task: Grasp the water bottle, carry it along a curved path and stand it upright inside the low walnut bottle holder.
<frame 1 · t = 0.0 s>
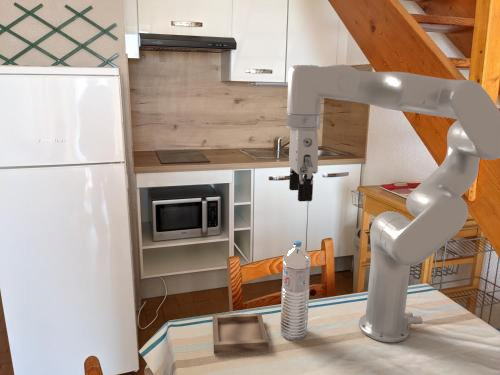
hand: (300, 195, 101), 37 cm above the table, tool pointing down, fingers open, 9 cm apart
bottle holder: (239, 336, 109), on the table
water bottle: (293, 334, 110), on the table
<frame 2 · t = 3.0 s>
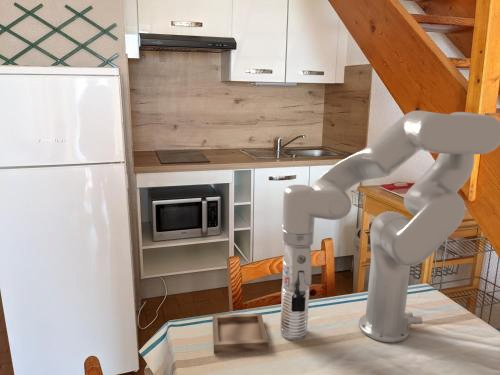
hand: (294, 302, 108), 9 cm above the table, tool pointing down, fingers closed on water bottle, 6 cm apart
water bottle: (293, 334, 110), on the table, touching gripper
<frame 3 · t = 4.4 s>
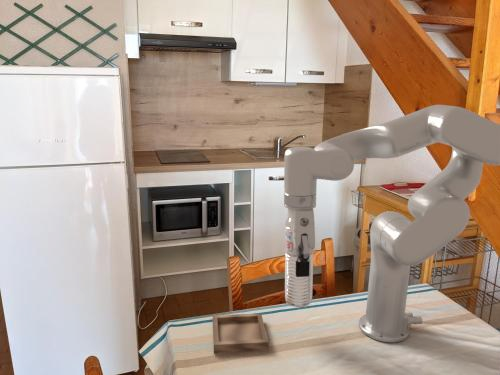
hand: (298, 268, 106), 18 cm above the table, tool pointing down, fingers closed on water bottle, 6 cm apart
water bottle: (298, 301, 108), point 9 cm above the table, touching gripper
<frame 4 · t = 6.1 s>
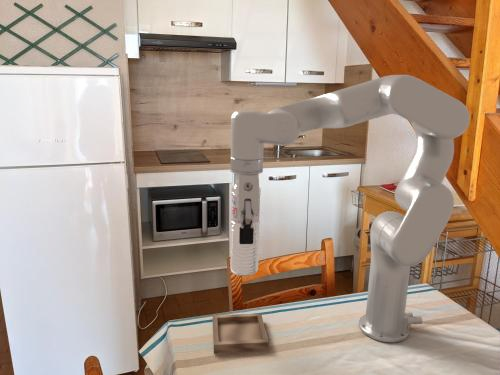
hand: (244, 237, 103), 26 cm above the table, tool pointing down, fingers closed on water bottle, 6 cm apart
water bottle: (244, 271, 106), point 17 cm above the table, touching gripper
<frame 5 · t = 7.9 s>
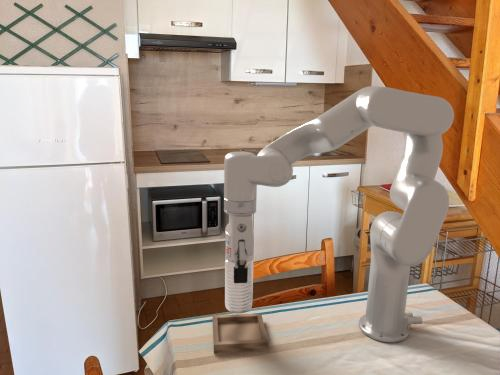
hand: (239, 274, 105), 17 cm above the table, tool pointing down, fingers closed on water bottle, 6 cm apart
water bottle: (238, 308, 107), point 8 cm above the table, touching gripper
when the fingers open (12 cm above the table, at t = 9.5 s): water bottle drops 2 cm, resting on bottle holder.
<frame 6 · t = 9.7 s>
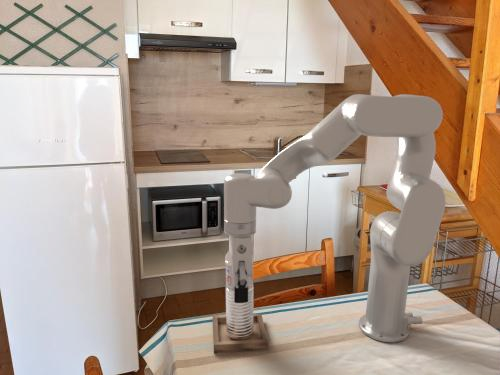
hand: (239, 292, 106), 12 cm above the table, tool pointing down, fingers open, 9 cm apart
water bottle: (240, 334, 108), point 1 cm above the table, touching bottle holder
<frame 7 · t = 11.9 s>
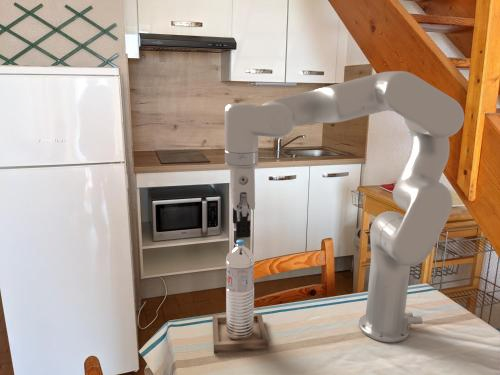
hand: (241, 229, 102), 28 cm above the table, tool pointing down, fingers open, 9 cm apart
nothing on the table moved.
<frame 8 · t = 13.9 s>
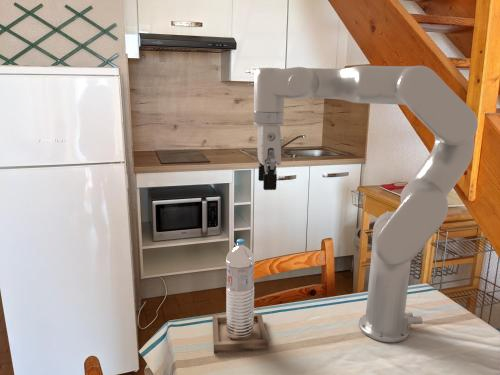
hand: (266, 184, 112), 36 cm above the table, tool pointing down, fingers open, 9 cm apart
nothing on the table moved.
at the end: water bottle 0.3 cm off-centre on the bottle holder, point 0.6 cm above the bottle holder's base; water bottle tilted 0°; the gripper is holding nothing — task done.
